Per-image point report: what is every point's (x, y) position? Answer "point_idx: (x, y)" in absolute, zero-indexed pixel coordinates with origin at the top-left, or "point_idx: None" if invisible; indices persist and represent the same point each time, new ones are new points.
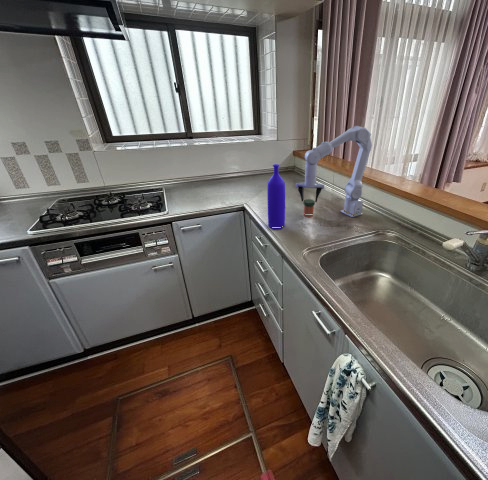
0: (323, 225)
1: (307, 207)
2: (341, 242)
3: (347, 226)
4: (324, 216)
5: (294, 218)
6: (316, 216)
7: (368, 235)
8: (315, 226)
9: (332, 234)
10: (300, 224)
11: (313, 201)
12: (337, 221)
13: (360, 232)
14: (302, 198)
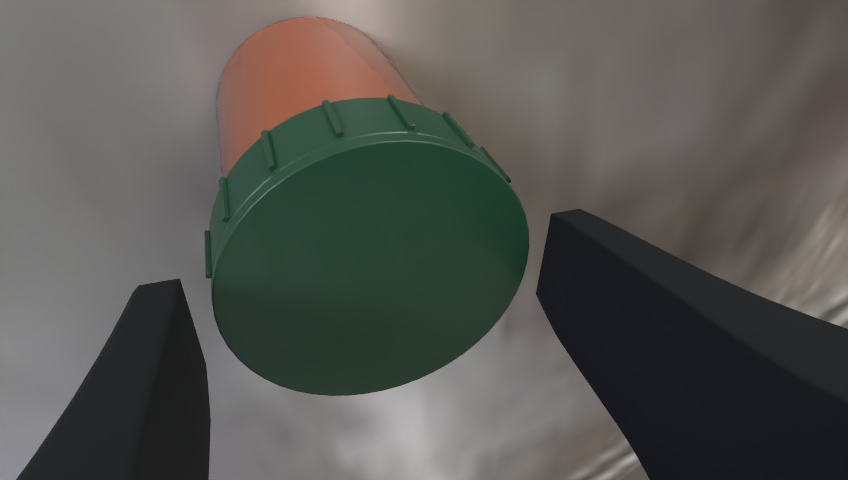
0: (538, 316)
1: None
2: (631, 458)
3: (762, 243)
4: (576, 71)
5: (122, 304)
6: (453, 114)
7: (841, 314)
8: (456, 366)
9: (595, 410)
10: (282, 399)
11: (495, 260)
12: (707, 171)
13: (813, 298)
14: (200, 465)
